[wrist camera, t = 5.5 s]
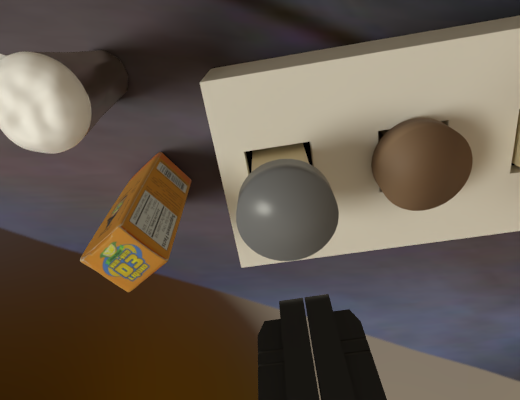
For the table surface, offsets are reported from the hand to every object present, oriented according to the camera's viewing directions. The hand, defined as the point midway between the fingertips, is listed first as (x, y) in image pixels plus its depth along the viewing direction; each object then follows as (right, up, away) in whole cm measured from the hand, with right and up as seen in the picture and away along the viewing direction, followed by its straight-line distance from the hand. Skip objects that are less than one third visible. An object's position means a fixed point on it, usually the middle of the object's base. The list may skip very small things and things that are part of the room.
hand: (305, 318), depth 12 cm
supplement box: (-8, +5, +16) cm, 19 cm away
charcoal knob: (0, +6, +12) cm, 13 cm away
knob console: (+7, +8, +14) cm, 18 cm away
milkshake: (-12, +12, +13) cm, 21 cm away
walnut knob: (+7, +8, +14) cm, 18 cm away
